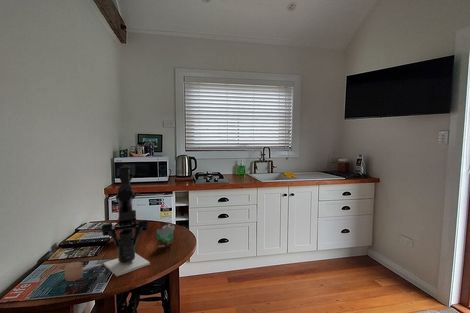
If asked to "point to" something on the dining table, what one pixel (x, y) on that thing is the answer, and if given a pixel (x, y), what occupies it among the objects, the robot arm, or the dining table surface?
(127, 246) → the supplement bottle
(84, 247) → the dining table surface
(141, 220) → the robot arm
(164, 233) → the food container
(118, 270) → the pad
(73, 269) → the tan rounded piece
